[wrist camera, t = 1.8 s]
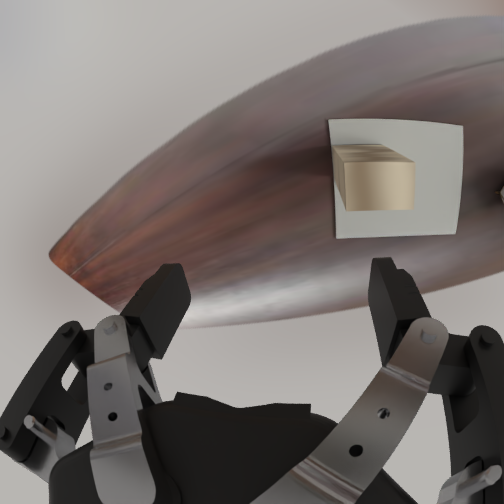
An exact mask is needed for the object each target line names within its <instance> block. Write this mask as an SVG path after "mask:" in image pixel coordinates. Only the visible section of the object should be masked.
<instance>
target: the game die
mask: <svg viewBox="0 0 504 504" xmlns="http://www.w3.org/2000/svg"><path fill="white" fill-rule="evenodd" d="M495 193H496V194H498V195H499V194H500V196H501V198H502V201H503V203H504V186H503V188H502V189H501V191H500V192H499V191H496V192H495Z"/></svg>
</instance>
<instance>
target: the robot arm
mask: <svg viewBox="0 0 504 504" xmlns="http://www.w3.org/2000/svg"><path fill="white" fill-rule="evenodd" d="M368 301H369V307H370V311H371V315H372V319H373V324H374V327H375V332H376V336H377V342H378V347H379V351H380V356H381V362H382V368H381V369H380V370H379V372H378V373H377V374H376V376H375V378H374V379H373V380H372V381H371V383H370V384H369V386H368V387H367V388H366V390H365V391H364V392H363V394H362V395H361V396H360V398H359V399H358V400H357V402H356V403H355V404H354V405H353V407H352V408H351V409H350V410H349V412H348V413H347V414H346V415H345V417H344V418H343V419H342V420H341V421H340V422H339V424H338V423H336V422H335V421H333V420H331V419H329V418H327V417H324V416H321V415H318V414H314V413H310V411H311V404H283V403H273V404H267V405H261V406H254V407H246V408H235V407H232V406H229V405H227V404H224V403H221V402H219V401H216V400H213V399H211V398H208V397H205V396H198V395H192V394H186V393H181V392H177V393H176V396H175V398H174V400H173V401H165V402H162V399H161V397H160V394H159V391H158V388H157V384H156V381H155V378H154V374H153V371H152V367H151V365H150V363H149V360H150V358H156V359H162V358H163V356H164V354H165V352H166V350H167V348H168V346H169V344H170V342H171V340H172V338H173V336H174V334H175V332H176V330H177V328H178V327H179V325H180V323H181V321H182V319H183V317H184V315H185V313H186V311H187V309H188V307H189V305H190V302H191V294H190V290H189V287H188V283H187V280H186V277H185V274H184V271H183V267H182V266H181V264H179V263H176V264H163V265H162V266H161V267H160V268H159V270H158V271H157V272H156V273H155V275H153V276H151V277H150V278H149V279H147V280H146V281H145V282H144V283H143V284H142V286H141V287H140V288H139V290H138V291H137V292H136V293H135V296H133V297H132V299H131V300H130V301H129V303H128V304H127V305H126V307H125V308H124V309H123V311H122V312H121V313H120V315H112V316H109V317H106V318H104V319H103V320H102V321H100V322H99V323H98V324H97V326H96V327H95V329H91V330H83V328H82V326H81V325H80V323H79V322H78V321H70V322H67V323H65V324H64V325H62V326H61V327H60V328H59V329H58V330H57V332H56V333H55V334H54V336H53V337H52V338H51V340H50V341H49V342H48V344H47V345H46V346H45V348H44V349H43V351H42V352H41V353H40V355H39V356H38V358H37V359H36V361H35V362H34V364H33V365H32V367H31V368H30V370H29V371H28V373H27V374H26V376H25V377H24V379H23V380H22V382H21V384H20V385H19V387H18V388H17V390H16V391H15V393H14V395H13V397H12V398H11V400H10V401H9V403H8V405H7V407H6V409H5V410H4V412H3V414H2V416H1V417H0V450H1V451H2V452H4V453H5V454H7V455H8V456H9V457H11V458H12V459H13V460H14V461H15V462H17V463H18V464H20V465H22V466H23V467H24V468H26V469H28V470H29V471H31V472H33V473H34V474H36V475H38V476H39V477H40V478H42V479H43V480H44V481H46V482H47V483H48V484H49V504H418V503H417V502H416V501H415V500H414V499H413V498H411V496H410V495H409V494H407V493H406V492H405V491H404V490H403V489H402V488H401V487H400V486H399V485H398V484H397V483H396V482H395V481H394V480H393V479H392V478H391V477H390V476H389V475H388V474H387V473H386V472H385V471H384V470H383V468H382V467H383V466H384V465H385V463H386V462H387V460H388V459H389V457H390V456H391V455H392V453H393V452H394V450H395V449H396V447H397V446H398V444H399V443H400V441H401V439H402V438H403V436H404V435H405V433H406V431H407V430H408V428H409V426H410V424H411V423H412V421H413V419H414V418H415V416H416V414H417V412H418V410H419V408H420V406H421V405H422V403H423V401H424V398H425V396H426V395H427V393H433V394H441V395H442V399H443V405H444V410H445V416H446V422H447V430H448V439H449V448H450V460H451V477H450V478H449V479H448V480H447V481H446V482H445V483H444V484H443V486H442V488H441V490H440V493H439V498H438V502H437V504H504V343H503V341H502V339H501V337H500V335H499V334H498V332H497V331H495V330H494V329H493V328H491V327H489V326H483V325H481V326H477V327H475V328H474V329H473V330H472V331H471V333H470V335H469V336H460V335H454V334H450V333H448V330H447V328H446V327H445V326H444V324H442V323H441V322H440V321H438V320H436V319H433V318H431V315H430V313H429V311H428V309H427V307H426V304H425V302H424V300H423V298H422V296H421V294H420V293H419V290H418V288H417V287H416V284H415V282H414V280H413V278H412V276H411V275H410V274H409V273H407V272H406V271H405V270H404V269H397V268H396V266H395V264H394V262H393V260H392V258H391V257H384V258H373V259H372V264H371V273H370V282H369V289H368ZM71 362H72V363H73V364H74V366H75V367H76V368H77V369H78V370H79V372H78V373H77V375H76V377H75V378H74V380H73V382H72V383H71V385H70V387H69V389H68V390H67V391H66V390H65V389H64V388H63V386H62V382H61V380H62V376H63V374H64V373H65V371H66V370H67V368H68V367H69V365H70V363H71ZM89 415H90V421H91V428H92V436H93V440H92V441H91V442H89V443H87V444H85V445H83V446H82V447H80V448H78V449H75V445H76V443H77V440H78V438H79V436H80V434H81V431H82V429H83V427H84V425H85V423H86V421H87V419H88V417H89Z"/></svg>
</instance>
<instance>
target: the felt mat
mask: <svg viewBox="0 0 504 504" xmlns="http://www.w3.org/2000/svg"><path fill="white" fill-rule="evenodd" d="M328 122H329V130H330V140H331V145H343V144H382V145H384V146H386V147H388V148H390V149H392V150H394V151H395V152H397V153H399V154H401V155H403V156H405V157H407V158H408V159H410V160H412V161H414V162H415V198H414V210H374V211H346V210H345V207H344V204H343V201H342V198H341V196H340V193H339V190H338V188H337V185H336V182H335V180H334V192H335V214H336V239H339V238H363V237H387V236H414V235H443V234H456V228H457V222H458V215H459V207H460V198H461V187H462V172H463V126H460V125H453V124H445V123H436V122H426V121H413V120H396V119H330V120H328ZM331 150H332V148H331ZM332 162H333V160H332ZM333 175H334V173H333Z"/></svg>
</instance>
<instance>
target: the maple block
mask: <svg viewBox="0 0 504 504" xmlns="http://www.w3.org/2000/svg"><path fill="white" fill-rule="evenodd" d="M331 148H332V160H333V173H334V180H335V182H336V185H337V188H338V190H339V193H340V196H341V198H342V201H343V204H344V207H345V210H346V211H374V210H414V198H415V162H414V161H412V160H410V159H408V158H407V157H405V156H403V155H401V154H399V153H397V152H395V151H394V150H392V149H390V148H388V147H386V146H384V145H382V144H343V145H331Z"/></svg>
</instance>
